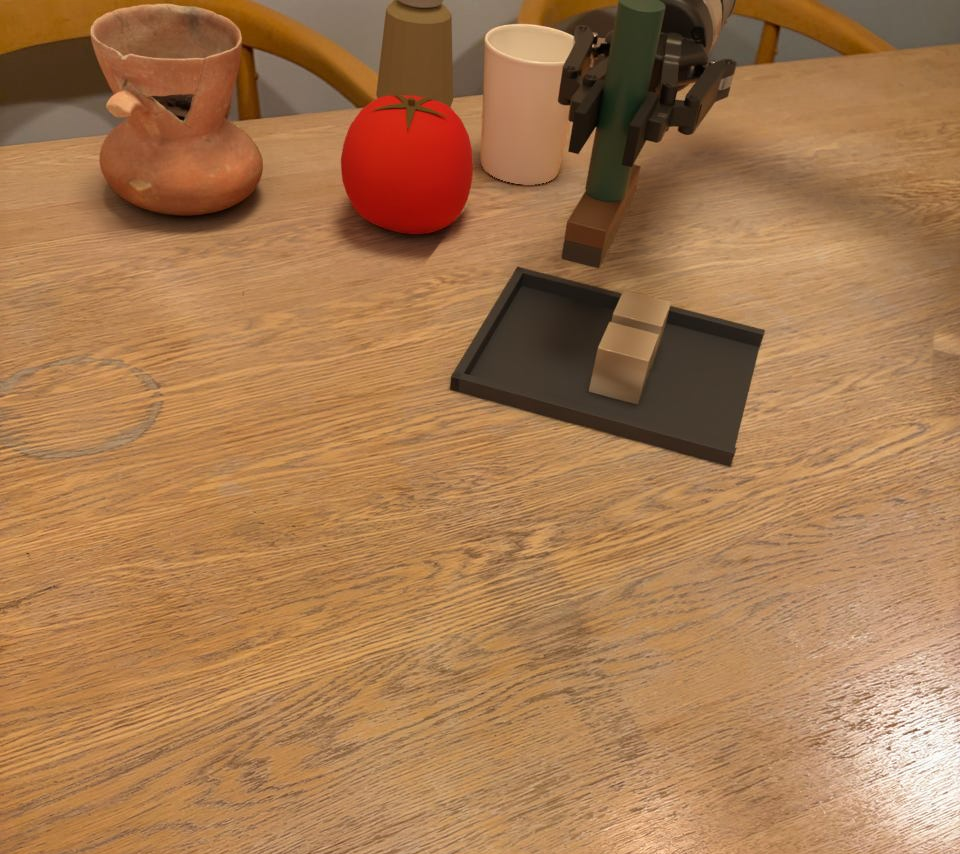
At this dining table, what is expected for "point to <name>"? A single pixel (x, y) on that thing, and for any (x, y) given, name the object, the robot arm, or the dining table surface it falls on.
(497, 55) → the pink cup
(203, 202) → the ceramic jug
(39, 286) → the dining table surface
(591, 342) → the tray
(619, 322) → the cube
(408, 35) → the squeeze bottle
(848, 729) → the dining table surface
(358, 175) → the tomato
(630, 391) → the cube
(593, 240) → the brush
